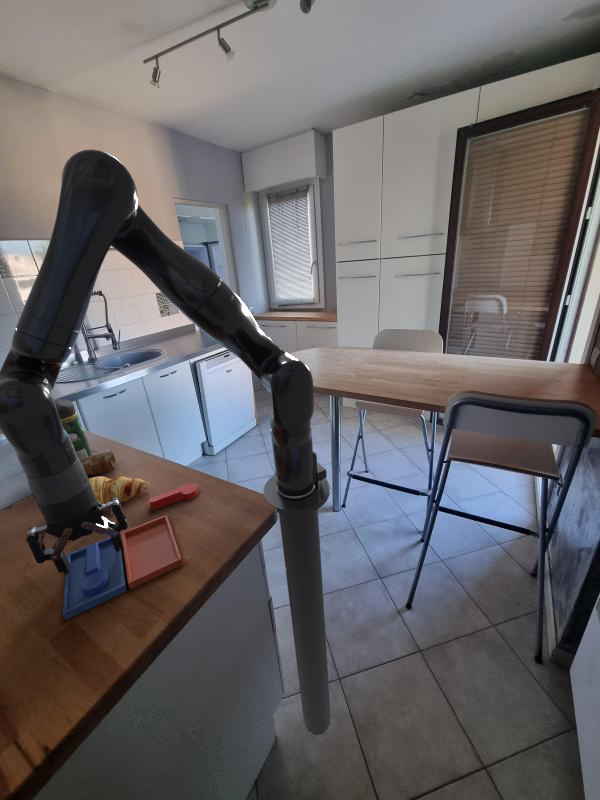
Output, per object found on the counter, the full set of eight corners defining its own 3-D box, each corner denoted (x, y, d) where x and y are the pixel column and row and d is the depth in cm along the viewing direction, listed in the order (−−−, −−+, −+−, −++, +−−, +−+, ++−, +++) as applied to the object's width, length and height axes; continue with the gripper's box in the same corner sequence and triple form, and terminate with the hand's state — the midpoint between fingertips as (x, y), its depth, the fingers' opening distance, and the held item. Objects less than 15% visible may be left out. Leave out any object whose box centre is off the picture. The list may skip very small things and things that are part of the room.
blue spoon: (83, 557, 64) (79, 548, 63) (106, 547, 66) (103, 539, 65) (82, 600, 56) (78, 591, 55) (109, 588, 57) (105, 579, 57)
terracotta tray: (168, 519, 73) (166, 514, 72) (182, 564, 62) (181, 558, 61) (123, 537, 69) (121, 532, 68) (130, 589, 57) (127, 583, 57)
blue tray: (120, 538, 68) (118, 533, 68) (127, 590, 57) (124, 585, 57) (69, 559, 64) (66, 554, 64) (65, 619, 53) (62, 614, 53)
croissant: (153, 494, 87) (147, 463, 87) (149, 499, 77) (143, 465, 78) (58, 519, 79) (52, 486, 80) (41, 529, 70) (34, 492, 70)
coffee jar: (60, 457, 101) (36, 401, 93) (89, 448, 105) (69, 393, 98) (63, 471, 93) (38, 412, 86) (95, 460, 98) (73, 402, 90)
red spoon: (153, 513, 75) (150, 505, 74) (150, 503, 78) (148, 496, 77) (200, 495, 80) (198, 487, 79) (195, 486, 83) (194, 479, 82)
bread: (118, 472, 91) (112, 455, 89) (36, 493, 85) (27, 475, 83) (120, 461, 96) (115, 444, 94) (43, 479, 90) (36, 462, 88)
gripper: (109, 462, 62) (132, 529, 68) (13, 492, 55) (49, 563, 62) (111, 483, 56) (137, 554, 62) (4, 519, 49) (45, 595, 56)
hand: (93, 559), depth 62 cm, fingers open, 8 cm apart
